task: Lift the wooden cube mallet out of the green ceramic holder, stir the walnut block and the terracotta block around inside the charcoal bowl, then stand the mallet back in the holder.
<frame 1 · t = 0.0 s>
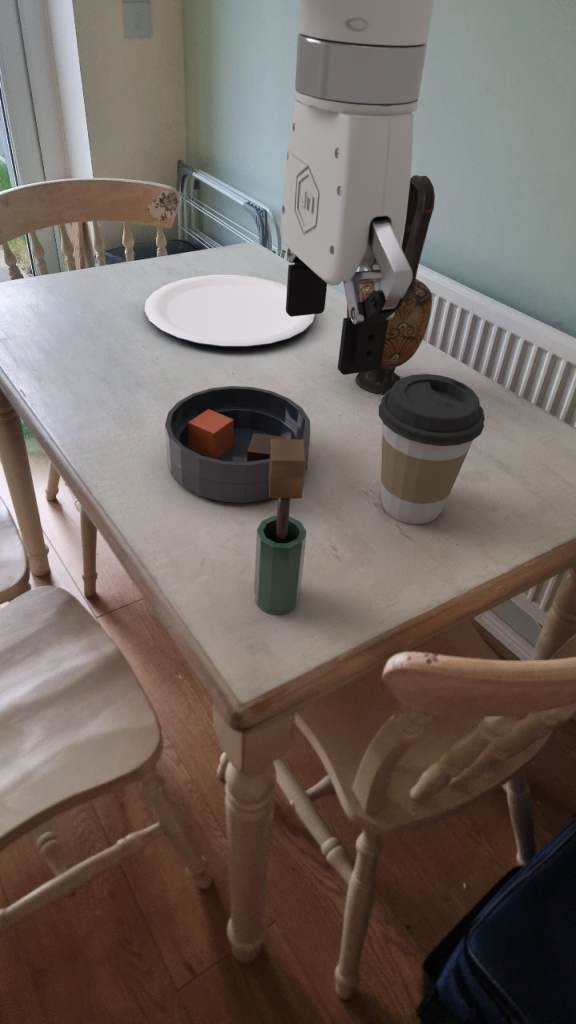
hand: (330, 340, 52), 28 cm above the table, tool pointing down, fingers open, 9 cm apart
holder: (276, 598, 69), on the table
terracotta block: (211, 447, 88), point 1 cm above the table, touching bowl
vase: (377, 385, 104), on the table
plate: (230, 316, 120), on the table
wooden cube mallet: (277, 594, 69), point 1 cm above the table, touching holder
bowl: (237, 462, 87), on the table
coffee cup: (410, 506, 82), on the table
walnut block: (265, 470, 85), point 1 cm above the table, touching bowl
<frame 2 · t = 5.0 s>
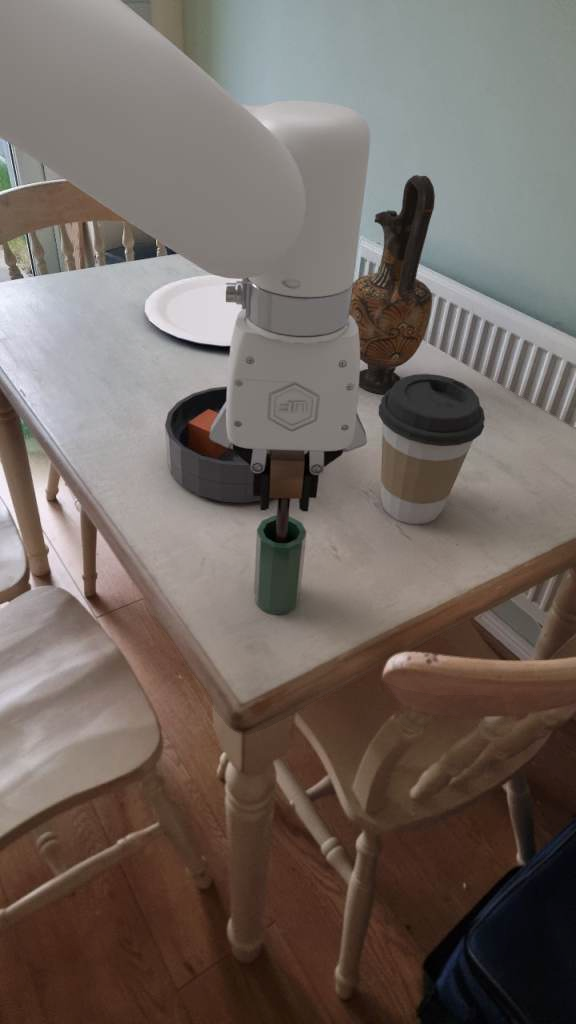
hand: (283, 499, 61), 13 cm above the table, tool pointing down, fingers closed on wooden cube mallet, 2 cm apart
wooden cube mallet: (277, 594, 69), point 1 cm above the table, touching gripper, holder
everything else where it was.
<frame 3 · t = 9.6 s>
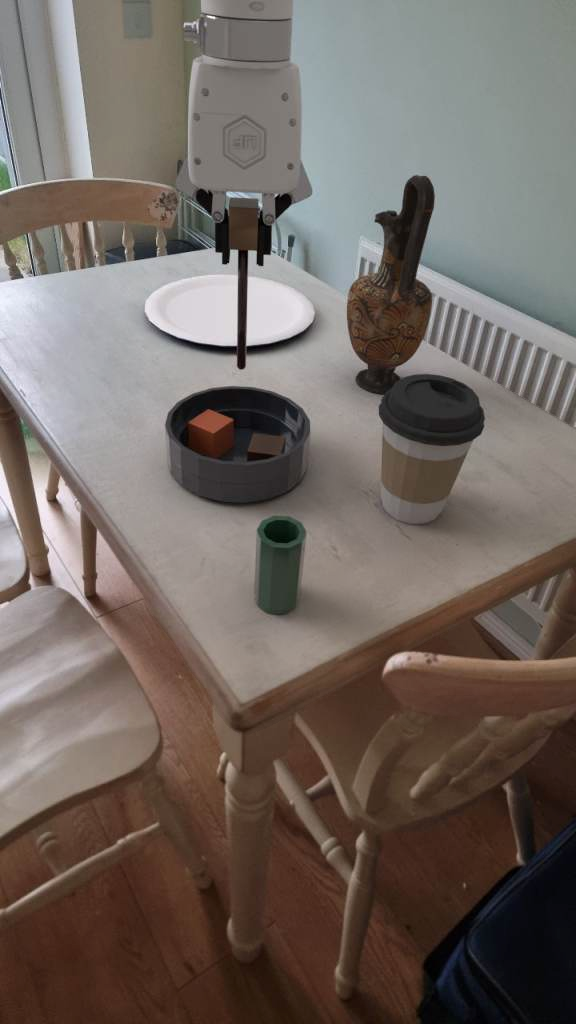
hand: (243, 258, 70), 26 cm above the table, tool pointing down, fingers closed on wooden cube mallet, 2 cm apart
wooden cube mallet: (241, 366, 78), point 14 cm above the table, touching gripper
everything else where it was.
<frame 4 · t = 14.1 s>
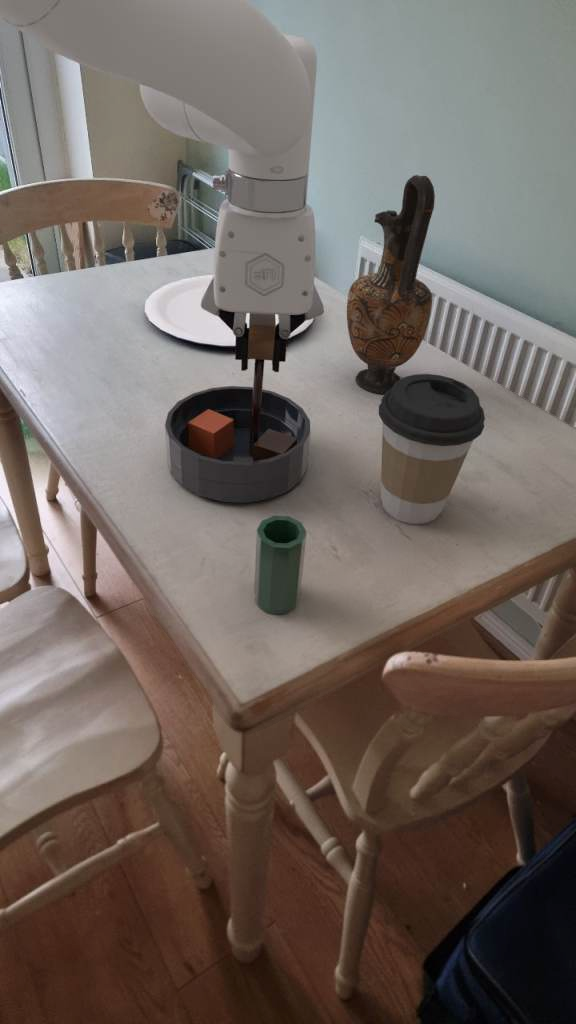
hand: (260, 364, 78), 14 cm above the table, tool pointing down, fingers closed on wooden cube mallet, 2 cm apart
wooden cube mallet: (252, 453, 85), point 2 cm above the table, touching gripper, walnut block
walnut block: (274, 467, 85), point 1 cm above the table, touching bowl, wooden cube mallet
everything else where it was.
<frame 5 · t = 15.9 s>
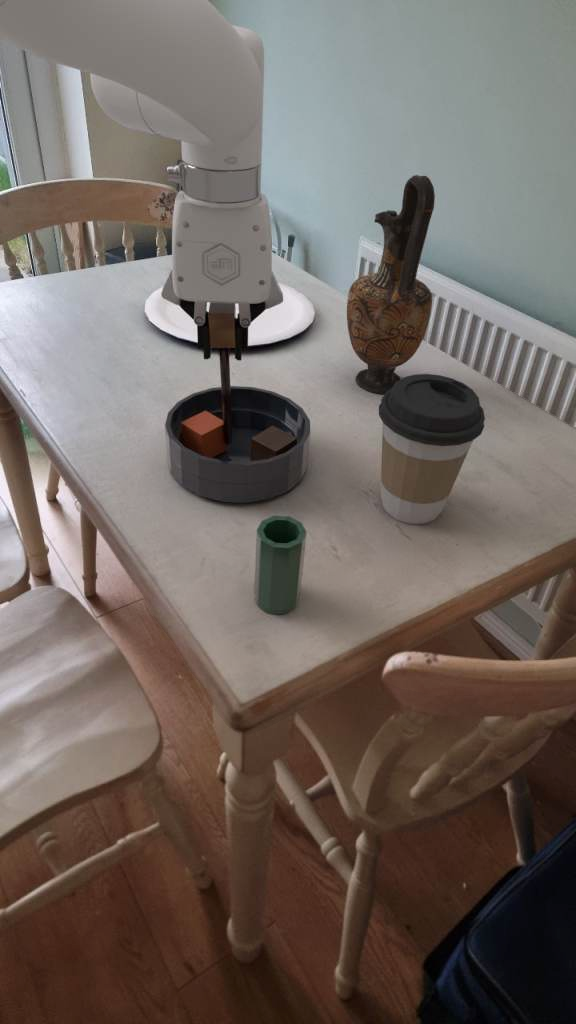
hand: (223, 352, 79), 14 cm above the table, tool pointing down, fingers closed on wooden cube mallet, 2 cm apart
terracotta block: (205, 449, 87), point 1 cm above the table, touching bowl, wooden cube mallet
wooden cube mallet: (228, 441, 87), point 2 cm above the table, touching gripper, terracotta block
walnut block: (272, 464, 86), point 1 cm above the table, touching bowl
everything else where it was.
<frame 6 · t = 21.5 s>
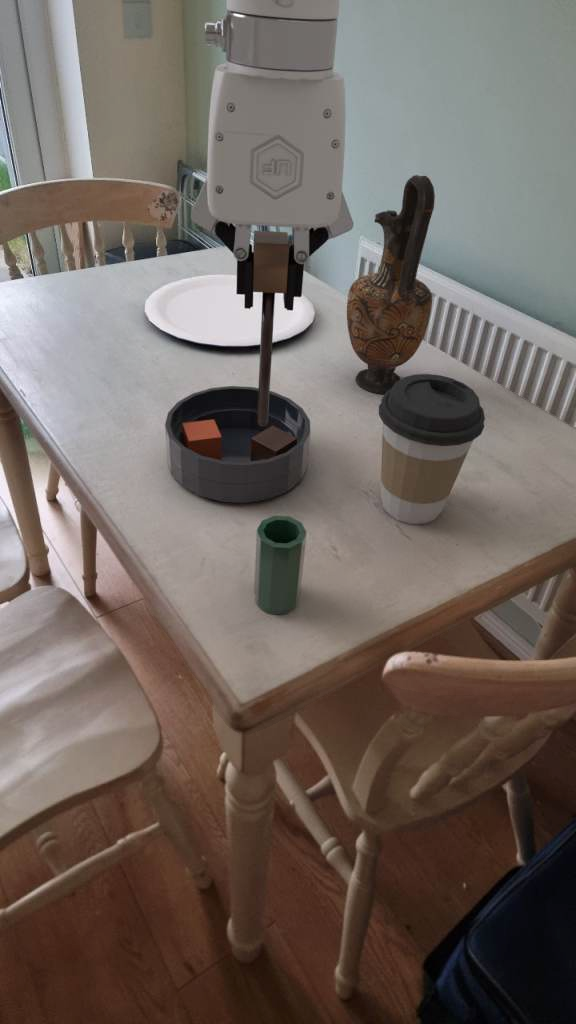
hand: (268, 301, 59), 27 cm above the table, tool pointing down, fingers closed on wooden cube mallet, 2 cm apart
terracotta block: (202, 456, 86), point 1 cm above the table, touching bowl
wooden cube mallet: (262, 422, 67), point 15 cm above the table, touching gripper
everything else where it was.
when the fingers open (13 cm above the table, at t = 26.6 s): wooden cube mallet stays where it is, resting on holder.
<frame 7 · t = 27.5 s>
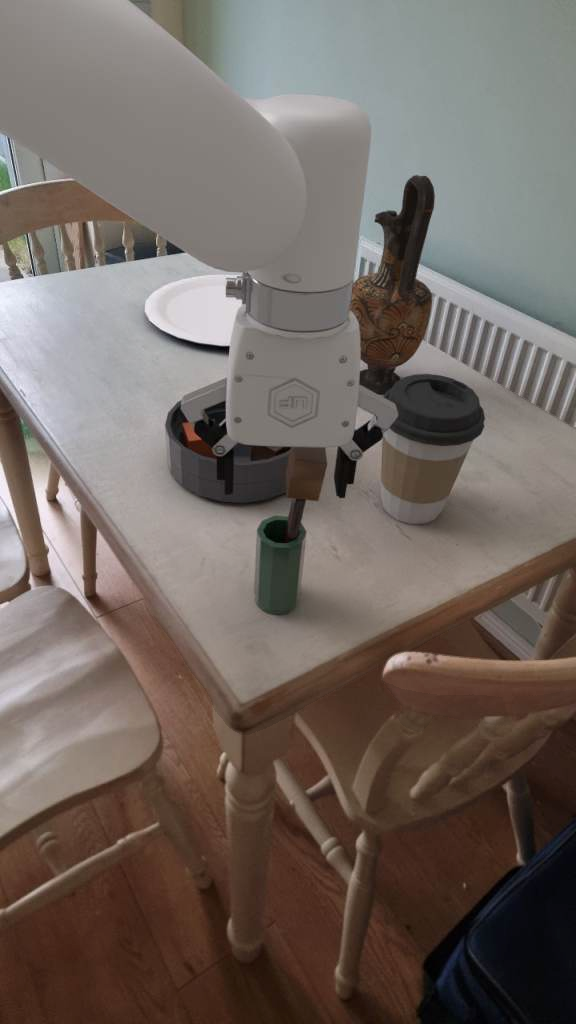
hand: (284, 486, 60), 14 cm above the table, tool pointing down, fingers open, 9 cm apart
wooden cube mallet: (278, 594, 69), point 1 cm above the table, tilted 6°, touching holder
everything else where it was.
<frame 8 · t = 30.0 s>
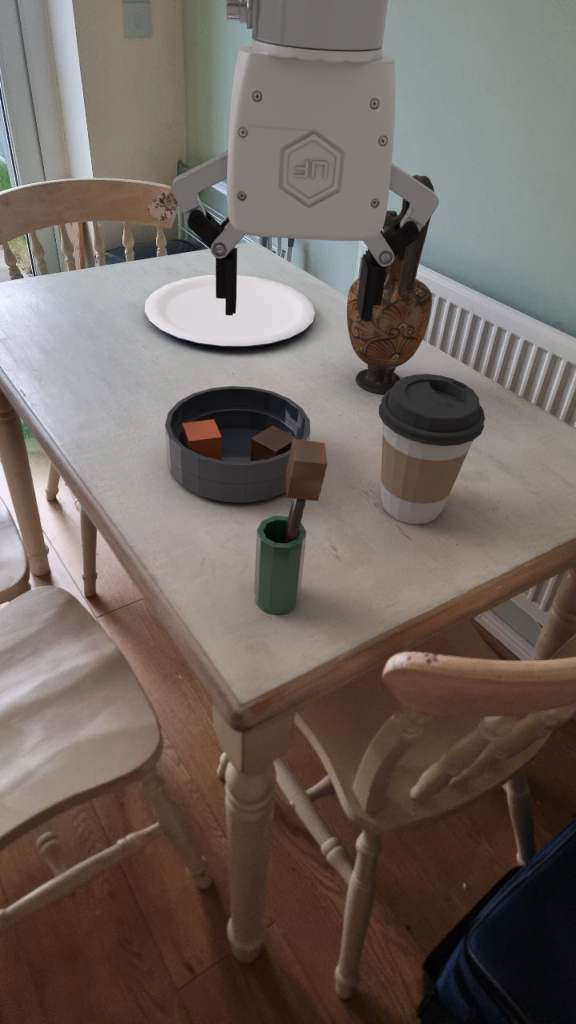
hand: (297, 310, 50), 30 cm above the table, tool pointing down, fingers open, 9 cm apart
nothing on the table moved.
at the end: walnut block moved 1.6 cm from its start; walnut block inside the target area in the bowl (4.4 cm from its centre), point 0.6 cm above the bowl's base; wooden cube mallet tilted 6° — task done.
